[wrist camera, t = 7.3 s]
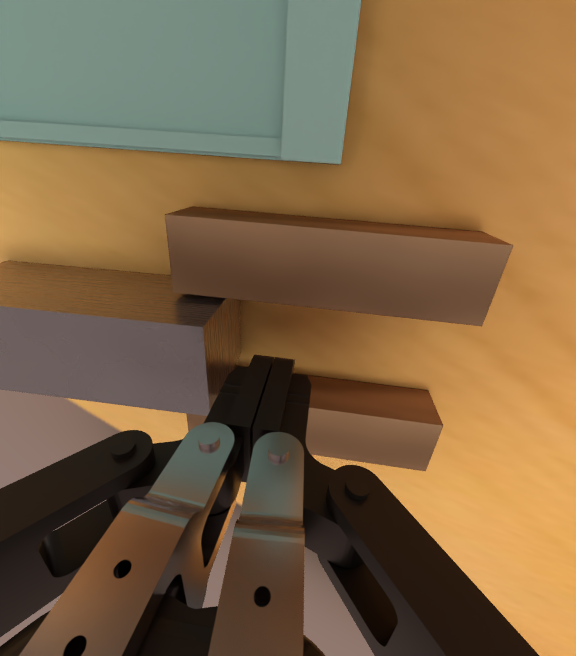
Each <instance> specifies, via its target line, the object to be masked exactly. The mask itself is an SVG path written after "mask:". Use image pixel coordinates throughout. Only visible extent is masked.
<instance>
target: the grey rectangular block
mask: <svg viewBox="0 0 576 656" xmlns="http://www.w3.org/2000/svg"><path fill="white" fill-rule="evenodd" d="M240 354H241V332H240V300H238V299H229V298H220V297H211V296H202V295H193V294H184V293H175V292H173V284H172V276H171V275H160V274H149V273H138V272H127V271H116V270H105V269H94V268H83V267H72V266H61V265H50V264H39V263H28V262H17V261H5V262H2V263H0V389H2V390H9V391H18V392H26V393H33V394H41V395H48V396H56V397H63V398H71V399H79V400H87V401H94V402H102V403H110V404H118V405H125V406H133V407H141V408H149V409H156V410H164V411H172V412H179V413H187V414H195V415H203V416H207V415H208V414H209V412H210V410H211V408H212V406H213V404H214V402H215V400H216V398H217V396H218V394H219V393H220V390H221V388H222V386H223V385H224V382H225V380H226V378H227V376H228V374H229V373H230V372H231V371H233V369H234V367H235V365H236V363H237V361H238V359H239V357H240Z"/></svg>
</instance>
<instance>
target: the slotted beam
mask: <svg viewBox="0 0 576 656" xmlns="http://www.w3.org/2000/svg"><path fill="white" fill-rule="evenodd" d="M165 220H166V229H167V238H168V247H169V257H170V266H171V275H172V284H173V292H175V293H184V294H193V295H202V296H211V297H220V298H229V299H238V300H248V301H257V302H266V303H275V304H284V305H293V306H302V307H311V308H320V309H330V310H339V311H348V312H357V313H366V314H375V315H384V316H393V317H402V318H412V319H421V320H430V321H439V322H448V323H457V324H466V325H475V326H482V325H483V322H484V320H485V317H486V314H487V312H488V309H489V307H490V304H491V302H492V299H493V296H494V294H495V291H496V289H497V286H498V284H499V281H500V278H501V276H502V273H503V271H504V268H505V266H506V263H507V260H508V258H509V255H510V253H511V250H512V248H513V245H511V244H509V243H507V242H504V241H502V240H500V239H498V238H495V237H493V236H491V235H489V234H486V233H484V232H481V231H469V230H457V229H446V228H434V227H423V226H411V225H399V224H388V223H376V222H364V221H353V220H341V219H330V218H318V217H306V216H295V215H283V214H271V213H260V212H248V211H237V210H225V209H213V208H202V207H189V208H186V209H182V210H179V211H175V212H172V213H169V214H165ZM237 367H238V366H235V367H234V369H235V368H237ZM234 369H233V370H234ZM307 376H308V378H309V380H310V383H311V385H312V386H311V395H310V404H309V413H308V422H307V431H306V446H307V449H308V451H309V453H310V454H312V455H319V456H325V457H332V458H339V459H346V460H352V461H359V462H366V463H373V464H379V465H386V466H393V467H400V468H407V469H413V470H420V471H426V469H427V466H428V464H429V461H430V459H431V456H432V453H433V451H434V448H435V446H436V443H437V441H438V438H439V435H440V433H441V430H442V428H443V424H442V422H441V419H440V417H439V415H438V412H437V410H436V407H435V405H434V403H433V400H432V398H431V396H430V393H429V391H427V390H419V389H411V388H403V387H396V386H388V385H380V384H372V383H364V382H356V381H349V380H341V379H333V378H325V377H317V376H309V375H307ZM206 417H207V416H203V415H195V414H187V422H188V431H190V430H191V429H193V428H194V427H196V426H198V425H200V424H203V423H204V421H205V419H206Z"/></svg>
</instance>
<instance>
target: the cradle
mask: <svg viewBox="0 0 576 656" xmlns="http://www.w3.org/2000/svg"><path fill="white" fill-rule="evenodd" d="M360 7H361V0H0V140H3V141H17V142H30V143H44V144H58V145H72V146H86V147H100V148H114V149H128V150H142V151H156V152H170V153H184V154H198V155H211V156H225V157H239V158H253V159H267V160H281V161H295V162H309V163H323V164H337V165H339V164H341V159H342V151H343V143H344V135H345V127H346V119H347V111H348V103H349V95H350V87H351V79H352V71H353V63H354V55H355V47H356V39H357V31H358V23H359V15H360Z"/></svg>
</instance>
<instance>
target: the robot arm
mask: <svg viewBox="0 0 576 656" xmlns="http://www.w3.org/2000/svg"><path fill="white" fill-rule="evenodd" d="M294 364H295V360H293V359H285V358H278V357H275V359H274V357H269V356H262V355H254V356H253V358H252V361H251V363H250V365H249V367H242V366H238V367H237V368H235V369H234V370H233V371H231V372H230V373H229V374H228V376H227V378H226V380H225V382H224V385H223V386H222V388H221V390H220V393H219V394H218V396H217V398H216V400H215V402H214V404H213V406H212V408H211V410H210V412H209V414H208V415H207V417H206V419H205V421H204V423H203V424H200V425H198V426H196V427H194V428H193V429H191V430H190V431H189V432H188V433H187V435H186V436H185V438H184V439H182V440H178V441H173V442H164V443H156V444H153V443H152V439H151V437H150V436H149V435H148V434H147V433H145V432H142V431H138V430H129V431H123V432H120V433H118V434H115V435H113V436H111V437H109V438H106V439H105V440H102V441H100V442H98V443H96V444H94V445H92V446H90V447H88V448H86V449H83V450H81V451H79V452H77V453H75V454H73V455H71V456H69V457H67V458H64V459H62V460H60V461H58V462H56V463H54V464H52V465H50V466H47V467H45V468H43V469H41V470H39V471H37V472H35V473H33V474H31V475H29V476H26V477H25V478H23V479H20V480H18V481H16V482H14V483H12V484H9V485H7V486H5V487H3V488H1V489H0V637H1V636H3V635H4V634H5V633H7V632H8V631H10V630H11V629H12V628H14V627H15V626H17V625H18V624H20V623H21V622H22V621H24V620H25V619H27V618H28V617H30V616H31V615H32V614H34V613H35V612H37V611H38V610H39V609H41V608H42V607H44V606H45V605H47V604H48V603H49V602H51V601H52V600H54V599H55V598H57V597H58V596H59V595H61V594H62V593H63V594H62V595H61V597H60V598H59V599H58V601H57V602H56V604H55V605H54V607H53V608H52V609H51V610H50V611H49V612H47V613H45V614H44V615H42V616H41V617H39V618H38V619H36V620H35V621H34V622H32V623H31V624H30V625H28V626H27V627H26V628H24V629H23V630H22V631H20V632H19V633H18V634H16V635H15V636H14V637H12V638H11V639H10V640H8V641H7V642H6V643H4V644H3V645H2V646H0V656H325V655H324V654H323V652H322V651H321V650H320V649H319V648H318V647H317V646H316V645H315V644H314V643H313V642H312V641H311V640H309V639H308V638H307V637H306V636H305V635H303V626H304V625H303V623H304V547H307V548H308V549H310V550H312V551H313V552H315V553H317V555H318V558H319V561H320V563H321V565H322V567H323V568H324V570H325V572H326V573H327V575H328V577H329V579H330V580H331V582H332V584H333V585H334V587H335V589H336V590H337V592H338V594H339V595H340V597H341V599H342V601H343V602H344V604H345V606H346V607H347V609H348V611H349V612H350V614H351V616H352V618H353V619H354V621H355V623H356V625H357V626H358V628H359V630H360V631H361V633H362V635H363V636H364V638H365V640H366V641H367V643H368V645H369V647H370V648H371V650H372V652H373V653H374V655H375V656H539V655H538V654H537V653H536V651H535V650H534V649H533V648H532V647H531V646H530V645H529V644H528V643H527V642H526V640H525V639H524V638H523V637H522V636H521V635H520V634H519V633H518V632H517V630H516V629H515V628H514V627H513V626H512V625H511V624H510V623H509V622H508V621H507V619H506V618H505V617H504V616H503V615H502V614H501V613H500V612H499V611H498V610H497V608H496V607H495V606H494V605H493V604H492V603H491V602H490V601H489V600H488V599H487V597H486V596H485V595H484V594H483V593H482V592H481V591H480V590H479V589H478V587H477V586H476V585H475V584H474V583H473V582H472V581H471V580H470V579H469V578H468V576H467V575H466V574H465V573H464V572H463V571H462V570H461V569H460V568H459V567H458V565H457V564H456V563H455V562H454V561H453V560H452V559H451V558H450V557H449V556H448V554H447V553H446V552H445V551H444V550H443V549H442V548H441V547H440V546H439V544H438V543H437V542H436V541H435V540H434V539H433V538H432V537H431V536H430V535H429V533H428V532H427V531H426V530H425V529H424V528H423V527H422V526H421V525H420V524H419V522H418V521H417V520H416V519H415V518H414V517H413V516H412V515H411V514H410V513H409V511H408V510H407V509H406V508H405V507H404V506H403V505H402V504H401V503H400V501H399V500H398V499H397V498H396V497H395V496H394V495H393V494H392V493H391V492H390V490H389V489H388V488H387V487H386V486H385V485H384V484H383V483H382V482H381V481H380V479H379V478H378V477H377V476H376V475H375V474H373V473H372V472H371V471H369V470H367V469H366V468H363V467H361V466H357V465H345V466H342V467H339V468H338V469H336V470H333V469H331V468H329V467H327V466H325V465H323V464H321V463H320V462H318V461H317V460H316V459H314V458H313V457H312V455H311V454H310V453H309V451H308V449H307V446H306V431H307V422H308V413H309V404H310V395H311V386H312V385H311V383H310V380H309V378H308V376H307V375H302V374H295V373H294ZM241 482H247V483H246V488H245V493H244V498H243V503H242V509H241V513H240V517H239V520H238V519H237V521H236V524H235V527H234V531H233V536H232V540H231V546H230V550H229V555H228V560H227V565H226V570H225V575H224V579H223V584H222V589H221V595H220V599H219V604H218V606H216V607H208V608H202V607H203V603H204V600H205V595H206V590H207V583H208V579H209V576H210V572H211V569H212V567H213V564H214V561H215V559H216V556H217V553H218V551H219V548H220V545H221V543H222V540H223V537H224V535H225V532H226V529H227V527H228V524H229V521H230V519H231V516H232V513H233V511H234V508H235V505H236V497H237V494H238V490H239V487H240V483H241ZM104 500H106V501H104ZM103 501H104V502H103ZM101 502H103V503H101ZM99 503H101V504H100V505H98V504H99ZM96 505H98V506H96ZM94 506H96V507H94ZM93 507H94V508H93ZM91 508H93V509H91ZM89 509H91V510H89ZM87 510H89V511H88V512H86V511H87ZM84 512H86V513H84ZM82 513H84V514H82ZM81 514H82V515H81ZM79 515H81V516H79ZM77 516H79V517H77ZM76 517H77V518H76ZM74 518H76V519H74ZM72 519H74V520H72ZM70 520H72V521H70ZM68 521H70V522H69V523H67V522H68ZM65 523H67V524H65ZM64 524H65V525H64ZM62 525H64V526H62ZM60 526H62V527H61V528H59V529H57V528H58V527H60ZM55 529H57V530H55ZM53 530H54V531H53Z"/></svg>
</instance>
